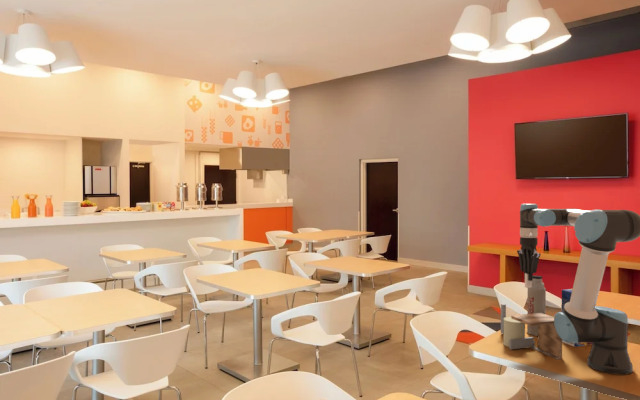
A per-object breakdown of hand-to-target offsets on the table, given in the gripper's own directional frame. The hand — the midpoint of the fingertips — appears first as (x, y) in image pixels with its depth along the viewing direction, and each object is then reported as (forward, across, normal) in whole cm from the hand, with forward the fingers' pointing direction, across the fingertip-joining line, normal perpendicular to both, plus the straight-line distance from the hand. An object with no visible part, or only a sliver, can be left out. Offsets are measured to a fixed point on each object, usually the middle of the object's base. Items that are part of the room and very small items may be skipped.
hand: (528, 287), depth 217 cm
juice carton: (+25, -11, -18) cm, 32 cm away
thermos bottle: (+25, +6, -10) cm, 27 cm away
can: (+25, -5, +12) cm, 28 cm away
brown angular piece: (+24, -8, +11) cm, 28 cm away
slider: (+24, 0, +12) cm, 27 cm away
